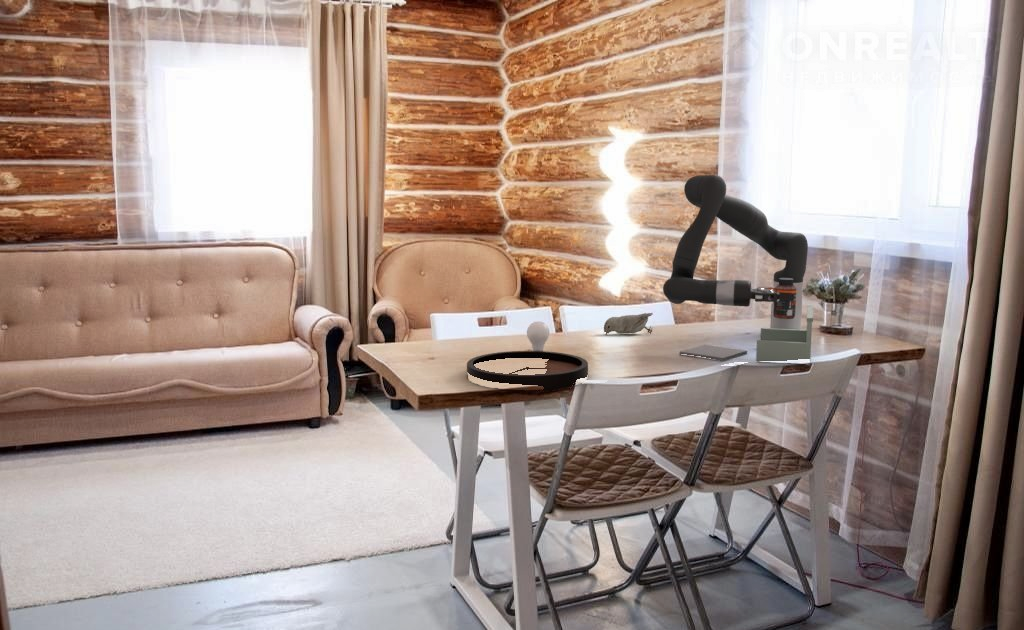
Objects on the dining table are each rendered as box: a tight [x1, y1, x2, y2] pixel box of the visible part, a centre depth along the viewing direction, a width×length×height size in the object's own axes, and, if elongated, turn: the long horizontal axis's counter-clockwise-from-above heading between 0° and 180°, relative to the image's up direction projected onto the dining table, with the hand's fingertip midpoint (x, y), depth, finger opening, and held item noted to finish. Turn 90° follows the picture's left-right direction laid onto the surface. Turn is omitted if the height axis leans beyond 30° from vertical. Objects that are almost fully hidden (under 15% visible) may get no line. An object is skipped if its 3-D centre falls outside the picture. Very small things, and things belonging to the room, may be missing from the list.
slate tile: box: [679, 344, 748, 362], centre depth 249 cm, size 14×14×1 cm
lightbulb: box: [526, 321, 550, 351], centre depth 242 cm, size 6×6×11 cm
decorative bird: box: [603, 312, 654, 335], centre depth 282 cm, size 5×16×8 cm, turn 92°
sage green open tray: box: [755, 306, 814, 366], centre depth 245 cm, size 14×22×13 cm, turn 161°
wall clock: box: [466, 350, 589, 391], centre depth 222 cm, size 31×4×31 cm
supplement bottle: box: [773, 278, 796, 319], centre depth 244 cm, size 6×6×11 cm
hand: (794, 295), depth 243 cm, fingers closed on supplement bottle, 6 cm apart
